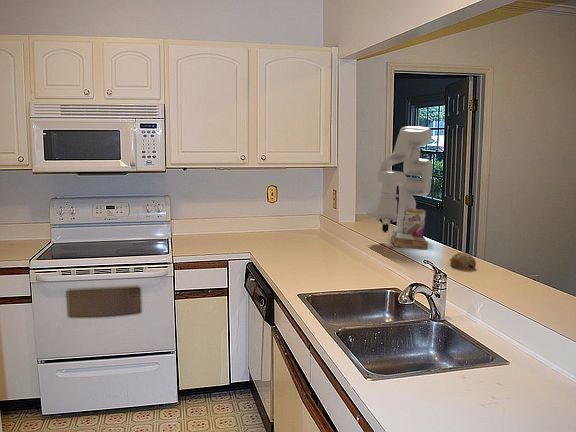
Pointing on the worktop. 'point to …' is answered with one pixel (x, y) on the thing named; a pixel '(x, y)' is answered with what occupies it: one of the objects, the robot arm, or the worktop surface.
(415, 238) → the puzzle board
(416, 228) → the candy bar box
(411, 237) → the lid
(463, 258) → the bread roll
